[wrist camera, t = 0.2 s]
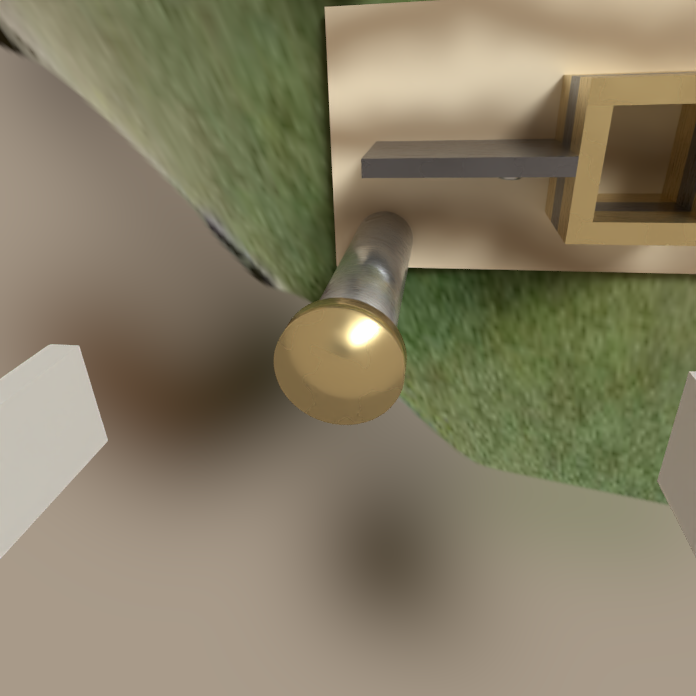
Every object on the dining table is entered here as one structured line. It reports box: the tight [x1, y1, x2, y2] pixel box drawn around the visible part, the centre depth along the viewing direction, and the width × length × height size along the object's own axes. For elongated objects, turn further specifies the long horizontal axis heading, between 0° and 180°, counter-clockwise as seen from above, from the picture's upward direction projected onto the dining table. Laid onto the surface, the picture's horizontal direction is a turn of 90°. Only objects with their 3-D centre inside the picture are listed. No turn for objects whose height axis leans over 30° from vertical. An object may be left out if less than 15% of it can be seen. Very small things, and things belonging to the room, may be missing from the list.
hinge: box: [361, 70, 696, 246], centre depth 29 cm, size 8×30×7 cm, turn 92°
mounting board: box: [325, 0, 696, 274], centre depth 33 cm, size 16×35×1 cm, turn 92°
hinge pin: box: [274, 211, 413, 425], centre depth 30 cm, size 5×5×18 cm
